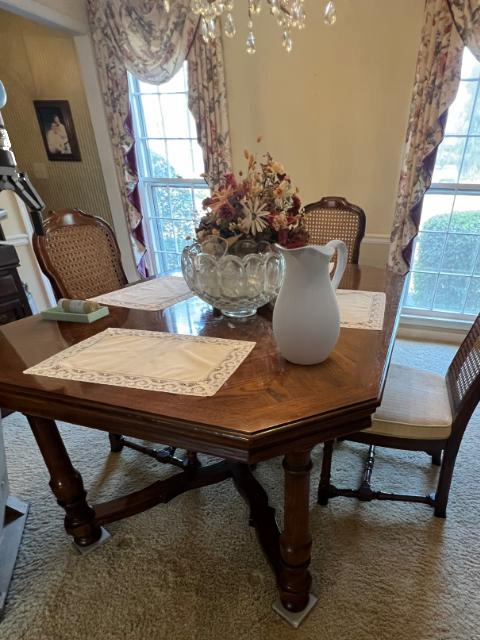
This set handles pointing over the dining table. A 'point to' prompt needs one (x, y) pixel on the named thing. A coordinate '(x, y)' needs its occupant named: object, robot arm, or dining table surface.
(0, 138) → the robot arm
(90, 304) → the sprinkles bottle
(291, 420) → the dining table surface
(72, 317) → the tray
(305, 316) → the pitcher
